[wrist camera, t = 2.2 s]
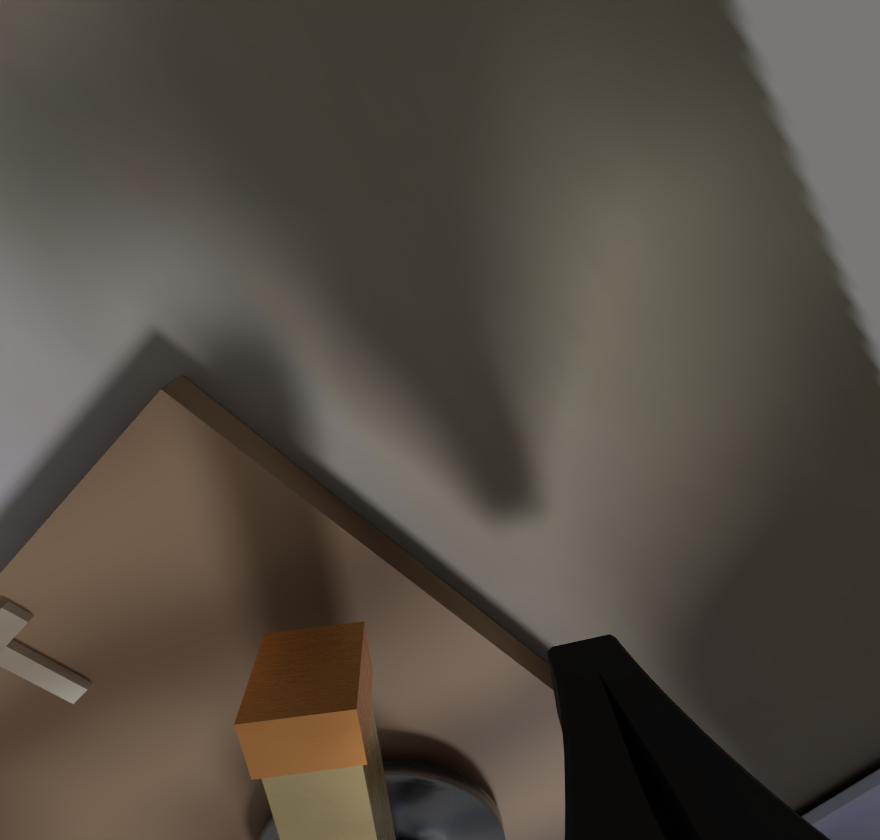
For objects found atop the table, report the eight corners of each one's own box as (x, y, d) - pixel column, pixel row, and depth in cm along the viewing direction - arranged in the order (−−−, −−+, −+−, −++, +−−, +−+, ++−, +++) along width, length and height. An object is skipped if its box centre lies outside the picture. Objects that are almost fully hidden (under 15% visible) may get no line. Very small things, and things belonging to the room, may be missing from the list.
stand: (730, 808, 17) (754, 848, 16) (422, 1003, 20) (424, 1049, 19) (181, 374, 11) (156, 392, 10) (-158, 761, 14) (-207, 808, 12)
